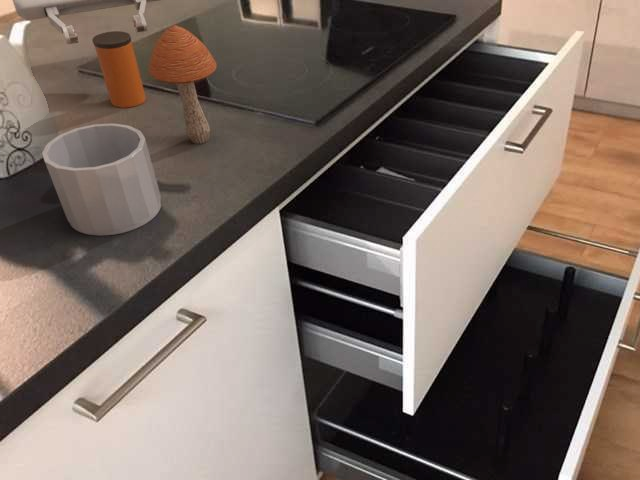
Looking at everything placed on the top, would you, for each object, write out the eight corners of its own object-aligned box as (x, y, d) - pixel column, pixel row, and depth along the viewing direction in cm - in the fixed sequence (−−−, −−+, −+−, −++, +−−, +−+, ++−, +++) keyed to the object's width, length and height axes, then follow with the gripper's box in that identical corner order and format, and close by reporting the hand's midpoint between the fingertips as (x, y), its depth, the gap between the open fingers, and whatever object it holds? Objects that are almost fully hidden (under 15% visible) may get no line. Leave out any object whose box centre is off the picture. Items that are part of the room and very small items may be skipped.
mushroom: (185, 163, 82) (157, 42, 72) (156, 139, 86) (126, 22, 76) (241, 143, 86) (221, 26, 76) (210, 122, 90) (188, 8, 80)
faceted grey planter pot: (77, 246, 69) (51, 179, 63) (60, 200, 75) (35, 136, 70) (172, 219, 72) (155, 154, 67) (148, 178, 79) (131, 116, 74)
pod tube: (115, 110, 92) (96, 46, 86) (107, 97, 95) (88, 34, 90) (150, 103, 94) (134, 40, 88) (141, 90, 97) (125, 28, 91)
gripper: (-15, -64, 85) (24, 37, 85) (145, -80, 92) (180, 12, 93) (-5, -35, 90) (31, 60, 91) (145, -53, 98) (178, 34, 99)
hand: (108, 35), depth 92 cm, fingers open, 8 cm apart
